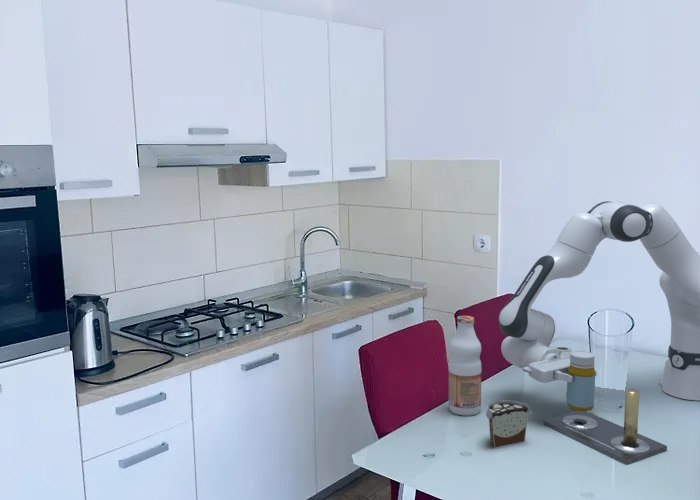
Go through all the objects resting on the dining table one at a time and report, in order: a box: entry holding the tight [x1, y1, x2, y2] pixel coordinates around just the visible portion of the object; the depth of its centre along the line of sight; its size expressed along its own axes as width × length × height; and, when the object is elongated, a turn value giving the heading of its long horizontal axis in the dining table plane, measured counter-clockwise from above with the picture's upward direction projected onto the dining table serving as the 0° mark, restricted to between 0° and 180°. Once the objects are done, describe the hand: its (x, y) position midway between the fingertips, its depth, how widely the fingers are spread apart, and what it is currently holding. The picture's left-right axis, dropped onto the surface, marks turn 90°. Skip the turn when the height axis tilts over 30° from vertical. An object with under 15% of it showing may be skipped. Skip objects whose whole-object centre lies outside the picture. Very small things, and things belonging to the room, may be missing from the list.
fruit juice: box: [448, 315, 482, 417], centre depth 187 cm, size 9×9×28 cm
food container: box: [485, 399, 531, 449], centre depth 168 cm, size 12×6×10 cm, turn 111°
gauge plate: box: [543, 388, 668, 465], centre depth 169 cm, size 15×27×15 cm, turn 28°
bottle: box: [566, 350, 596, 412], centre depth 174 cm, size 7×7×15 cm
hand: (584, 376), depth 173 cm, fingers closed on bottle, 7 cm apart
